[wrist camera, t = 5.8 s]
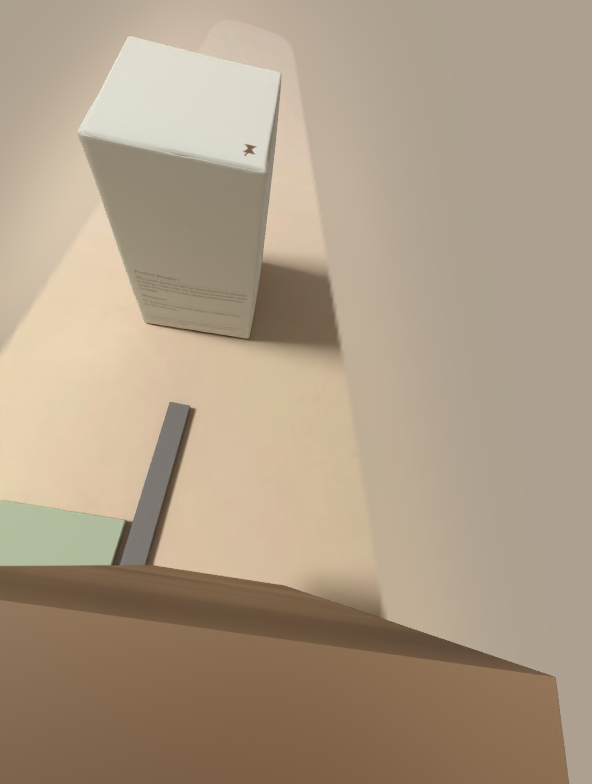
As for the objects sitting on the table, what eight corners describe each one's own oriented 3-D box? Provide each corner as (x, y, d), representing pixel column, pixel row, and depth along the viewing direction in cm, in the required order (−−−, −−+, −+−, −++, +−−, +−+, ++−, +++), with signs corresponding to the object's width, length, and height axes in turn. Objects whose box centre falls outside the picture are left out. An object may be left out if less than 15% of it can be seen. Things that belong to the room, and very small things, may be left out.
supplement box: (263, 260, 29) (288, 69, 18) (249, 342, 26) (270, 173, 15) (165, 241, 28) (127, 27, 17) (138, 323, 25) (70, 128, 14)
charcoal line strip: (37, 947, 14) (33, 955, 14) (3, 946, 14) (-1, 953, 14) (190, 407, 24) (189, 405, 23) (170, 403, 23) (169, 401, 23)
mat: (48, 766, 16) (44, 771, 16) (-126, 749, 16) (-135, 753, 15) (126, 520, 20) (124, 520, 20) (-8, 499, 20) (-12, 497, 19)
